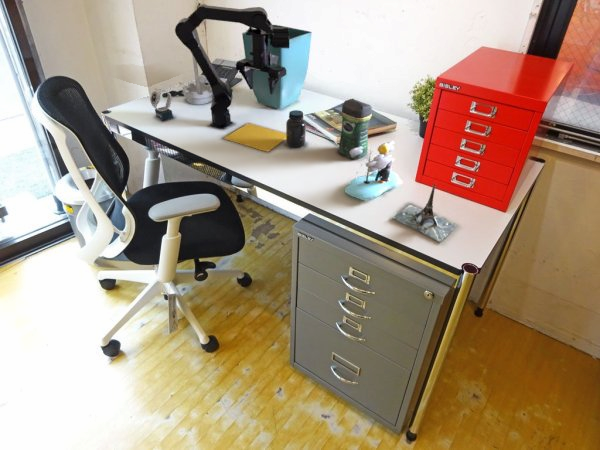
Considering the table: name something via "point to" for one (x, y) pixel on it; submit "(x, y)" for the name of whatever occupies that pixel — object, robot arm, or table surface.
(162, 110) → the watch
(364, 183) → the cartoon character figurine
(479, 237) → the table surface
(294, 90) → the flower pot
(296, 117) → the supplement bottle
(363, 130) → the coffee jar
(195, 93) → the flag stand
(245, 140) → the cloth
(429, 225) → the eiffel tower figurine
